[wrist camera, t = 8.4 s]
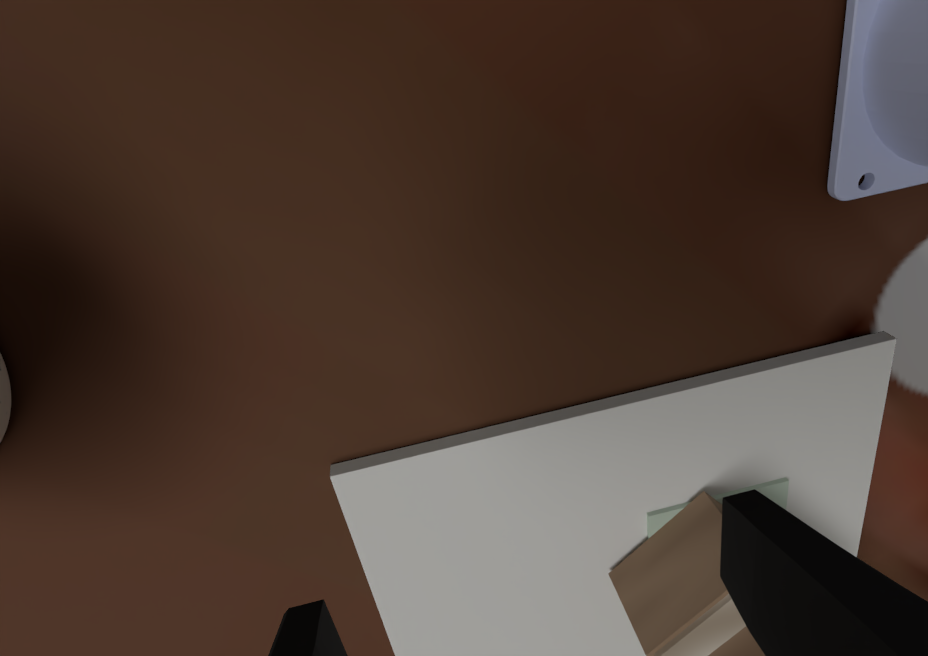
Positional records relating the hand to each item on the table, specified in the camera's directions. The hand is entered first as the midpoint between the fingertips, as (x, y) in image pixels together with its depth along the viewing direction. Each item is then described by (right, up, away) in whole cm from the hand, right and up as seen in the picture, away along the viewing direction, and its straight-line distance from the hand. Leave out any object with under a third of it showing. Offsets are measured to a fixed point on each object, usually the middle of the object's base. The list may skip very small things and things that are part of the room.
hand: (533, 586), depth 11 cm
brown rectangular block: (+9, -6, +14) cm, 18 cm away
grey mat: (+5, -4, +14) cm, 15 cm away
